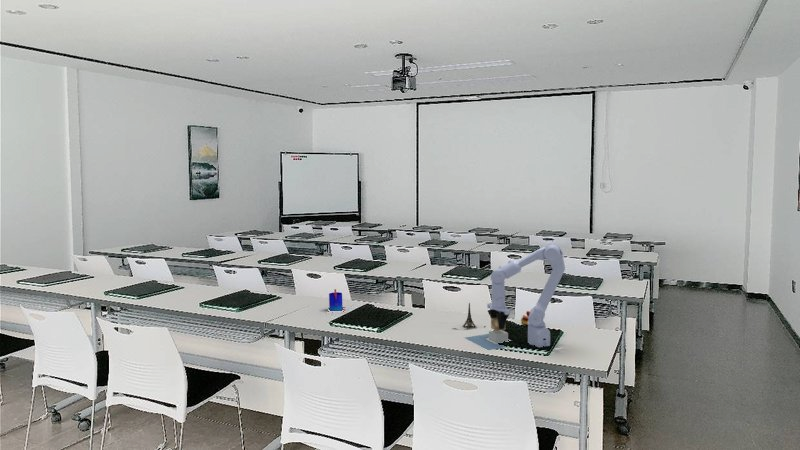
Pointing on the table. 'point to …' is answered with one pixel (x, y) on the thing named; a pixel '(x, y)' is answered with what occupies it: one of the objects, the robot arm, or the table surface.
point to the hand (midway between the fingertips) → (498, 327)
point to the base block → (498, 336)
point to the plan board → (485, 342)
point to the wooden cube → (496, 324)
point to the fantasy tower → (335, 301)
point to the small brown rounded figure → (525, 318)
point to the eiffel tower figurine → (469, 322)
